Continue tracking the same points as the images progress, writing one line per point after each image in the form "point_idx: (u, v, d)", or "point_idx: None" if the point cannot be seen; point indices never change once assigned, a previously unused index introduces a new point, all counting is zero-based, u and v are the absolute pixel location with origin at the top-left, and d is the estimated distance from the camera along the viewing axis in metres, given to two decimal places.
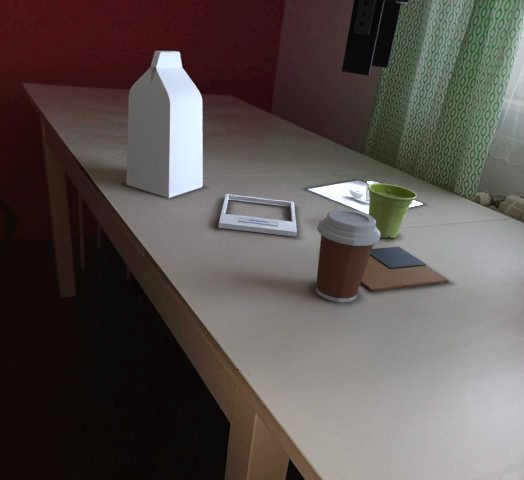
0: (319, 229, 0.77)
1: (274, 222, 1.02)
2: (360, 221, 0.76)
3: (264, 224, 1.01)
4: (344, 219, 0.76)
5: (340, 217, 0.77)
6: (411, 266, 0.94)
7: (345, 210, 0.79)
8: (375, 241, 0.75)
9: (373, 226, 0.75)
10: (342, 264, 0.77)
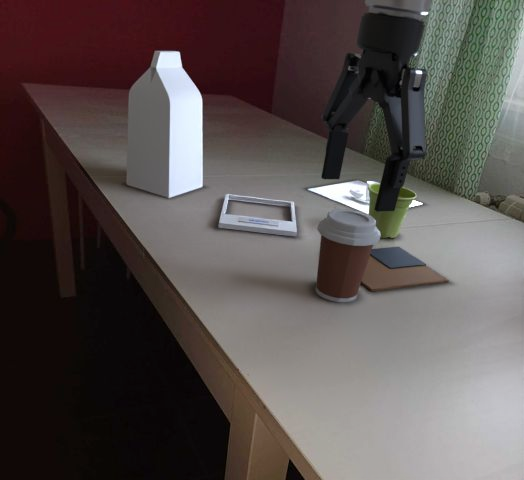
0: (319, 229, 0.77)
1: (274, 222, 1.02)
2: (360, 221, 0.76)
3: (264, 224, 1.01)
4: (344, 219, 0.76)
5: (340, 217, 0.77)
6: (411, 266, 0.94)
7: (345, 210, 0.79)
8: (375, 241, 0.75)
9: (373, 226, 0.75)
10: (342, 264, 0.77)
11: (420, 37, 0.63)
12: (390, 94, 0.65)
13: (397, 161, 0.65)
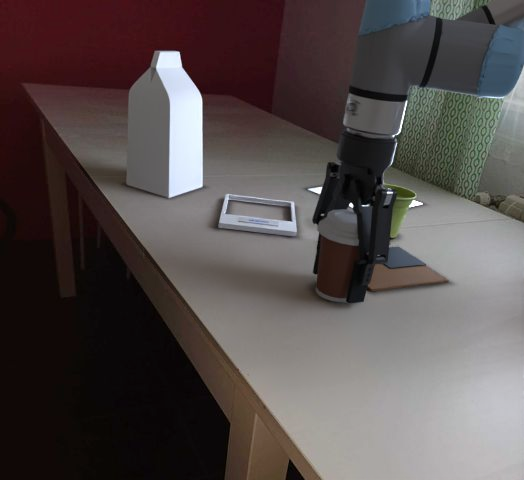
0: (319, 229, 0.77)
1: (274, 222, 1.02)
2: None
3: (264, 224, 1.01)
4: (344, 219, 0.76)
5: (340, 217, 0.77)
6: (411, 266, 0.94)
7: (345, 210, 0.79)
8: None
9: None
10: (342, 264, 0.77)
11: (393, 153, 0.70)
12: (367, 200, 0.73)
13: None
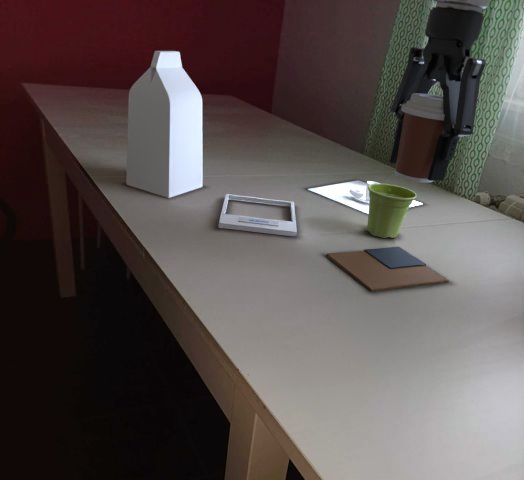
0: (404, 109, 0.82)
1: (274, 222, 1.02)
2: None
3: (264, 224, 1.01)
4: None
5: None
6: (411, 266, 0.94)
7: (426, 94, 0.84)
8: None
9: None
10: (425, 141, 0.82)
11: (480, 27, 0.75)
12: (453, 75, 0.78)
13: (448, 137, 0.80)
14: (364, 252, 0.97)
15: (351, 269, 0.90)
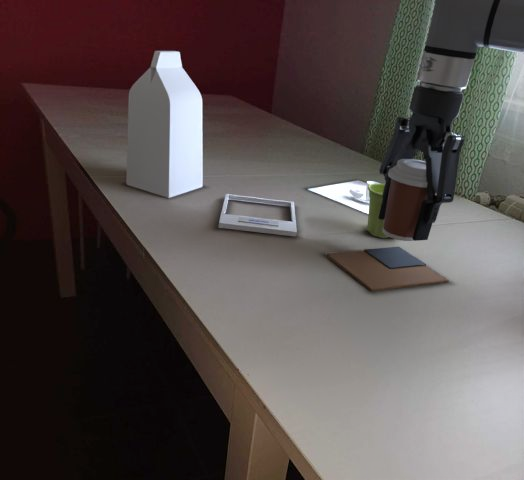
0: (390, 175, 0.88)
1: (274, 222, 1.02)
2: None
3: (264, 224, 1.01)
4: (413, 166, 0.87)
5: (409, 164, 0.88)
6: (411, 266, 0.94)
7: (411, 159, 0.90)
8: None
9: None
10: (410, 205, 0.88)
11: (460, 105, 0.81)
12: (435, 147, 0.84)
13: (430, 203, 0.86)
14: (364, 252, 0.97)
15: (351, 269, 0.90)
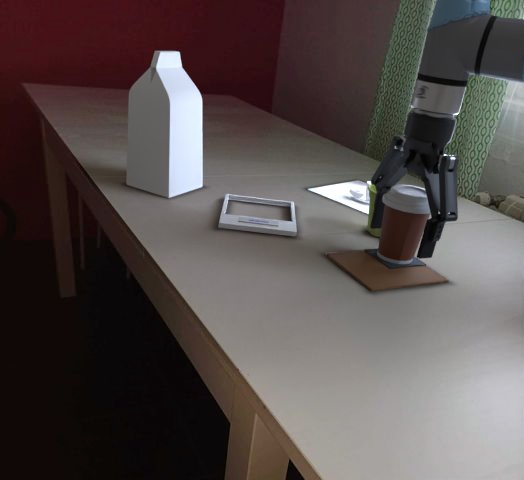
0: (384, 200, 0.90)
1: (274, 222, 1.02)
2: (419, 194, 0.90)
3: (264, 224, 1.01)
4: (406, 192, 0.90)
5: (402, 190, 0.90)
6: (411, 266, 0.94)
7: (405, 185, 0.92)
8: None
9: None
10: (404, 230, 0.90)
11: (453, 130, 0.83)
12: (429, 171, 0.86)
13: (435, 222, 0.86)
14: (364, 252, 0.97)
15: (351, 269, 0.90)
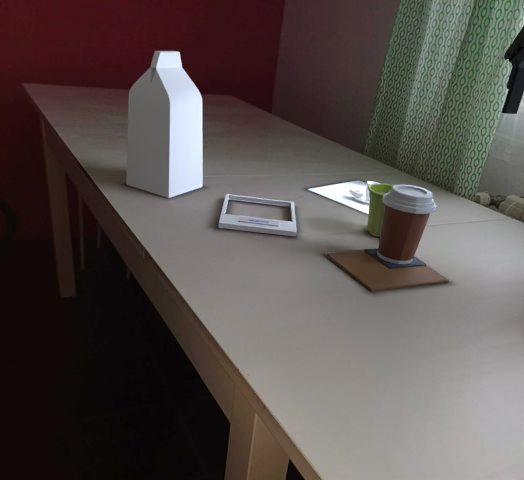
0: (384, 200, 0.90)
1: (274, 222, 1.02)
2: (419, 194, 0.90)
3: (264, 224, 1.01)
4: (406, 192, 0.90)
5: (402, 190, 0.90)
6: (411, 266, 0.94)
7: (405, 185, 0.92)
8: (433, 210, 0.89)
9: (431, 198, 0.89)
10: (404, 230, 0.90)
11: None
12: None
13: None
14: (364, 252, 0.97)
15: (351, 269, 0.90)
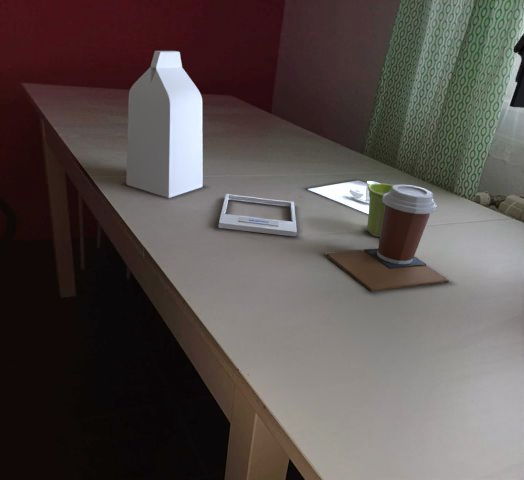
0: (384, 200, 0.90)
1: (274, 222, 1.02)
2: (419, 193, 0.90)
3: (264, 224, 1.01)
4: (406, 192, 0.90)
5: (402, 190, 0.90)
6: (411, 266, 0.94)
7: (405, 185, 0.92)
8: (433, 210, 0.89)
9: (431, 198, 0.89)
10: (404, 230, 0.90)
11: None
12: None
13: None
14: (364, 252, 0.97)
15: (351, 269, 0.90)
